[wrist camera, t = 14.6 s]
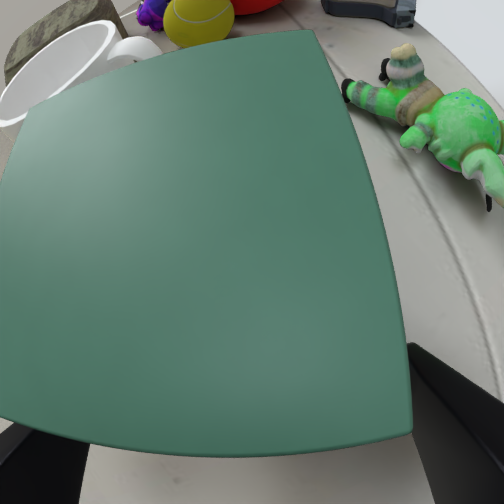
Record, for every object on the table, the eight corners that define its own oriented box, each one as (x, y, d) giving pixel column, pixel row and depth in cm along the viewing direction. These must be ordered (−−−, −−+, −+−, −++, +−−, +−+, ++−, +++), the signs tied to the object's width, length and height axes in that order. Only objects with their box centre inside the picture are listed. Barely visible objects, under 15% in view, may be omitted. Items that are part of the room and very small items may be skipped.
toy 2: (325, 129, 24) (480, 251, 16) (316, 50, 17) (529, 178, 10) (397, 83, 25) (528, 174, 17) (399, 18, 18) (561, 109, 11)
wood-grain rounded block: (151, 83, 27) (118, 14, 35) (116, 13, 18) (99, -27, 27) (35, 157, 26) (42, 61, 35) (-16, 108, 18) (16, 26, 26)
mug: (54, 208, 23) (-27, 143, 13) (87, 119, 26) (34, 48, 16) (188, 197, 21) (119, 87, 11) (207, 96, 24) (171, -5, 15)
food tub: (321, 376, 15) (415, 434, 2) (196, 385, 15) (-26, 408, 3) (306, 254, 17) (313, 27, 5) (191, 268, 17) (28, 107, 5)
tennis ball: (211, 70, 27) (234, 36, 29) (226, 18, 21) (251, -11, 23) (149, 51, 26) (178, 19, 28) (153, -2, 19) (187, -28, 21)
